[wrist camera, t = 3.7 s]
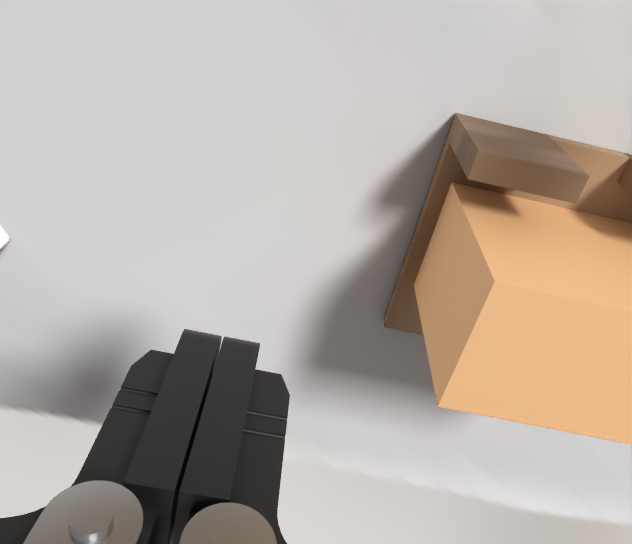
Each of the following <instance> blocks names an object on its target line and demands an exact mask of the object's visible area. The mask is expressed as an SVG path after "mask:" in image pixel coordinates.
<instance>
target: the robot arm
mask: <svg viewBox="0 0 632 544" xmlns="http://www.w3.org/2000/svg"><path fill="white" fill-rule="evenodd" d="M220 345H221V336H218V335H213V334H208V333H203V332H198V331H192V330H187V329H184V331H183V333H182V335H181V338H180V340H179V343H178V345H177V348H176V350H175V353H174V354H171V353H165V352H160V351H155V350H150V351H149V352H148V353H147V354H145V355H144V356H143V357H142V358H140V359H139V360H138V361H137V362H135V363H134V364H133V365H132V366H131V368H130V370H129V372H128V374H127V376H126V378H125V380H124V382H123V384H122V386H121V390H120V391H119V392H118V395H117V397H116V399H115V401H114V403H113V406H112V409H110V411H109V413H108V415H107V417H106V419H105V421H104V423H103V426H102V428H101V430H100V432H99V434H98V436H97V438H96V440H95V442H94V444H93V446H92V448H91V451H90V452H89V454H88V457H87V459H86V461H85V463H84V465H83V467H82V469H81V471H80V473H79V475H78V477H77V479H76V480H75V482H74V483H73V485H72V486H71V487H69V488H68V489H66V490H64V491H63V492H61V493H60V494H58V495H57V496H56V497H54V498H53V499H52V500H51V501H50V502H49V503H48V505H47V506H46V507H44V508H41V509H39V510H37V511H35V512H31V513H28V514H25V515H20V516H15V517H8V518H0V544H287V543H286V542H285V540H284V538H283V536H282V534H281V532H280V528H279V525H278V519H277V508H278V498H279V489H280V479H281V470H282V462H283V452H284V443H285V434H286V425H287V416H288V406H289V397H290V395H289V392H288V390H287V387H286V385H285V382H284V380H283V378H282V375H281V374H276V373H271V372H266V371H261V370H255V367H256V362H257V357H258V352H259V347H260V343H255V342H250V341H245V340H239V339H234V338H229V337H224V339H223V342H222V345H221V349H220ZM219 351H220V352H219Z"/></svg>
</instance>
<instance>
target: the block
mask: <svg viewBox="0 0 632 544" xmlns="http://www.w3.org/2000/svg"><path fill="white" fill-rule="evenodd" d="M414 289H415V294H416V299H417V304H418V309H419V314H420V320H421V325H422V330H423V335H424V340H425V345H426V350H427V355H428V360H429V365H430V370H431V375H432V380H433V386H434V391H435V396H436V401H437V406H438V407H442V408H447V409H452V410H457V411H462V412H467V413H472V414H477V415H482V416H487V417H492V418H498V419H503V420H508V421H513V422H518V423H523V424H528V425H533V426H538V427H543V428H548V429H553V430H559V431H564V432H569V433H574V434H579V435H584V436H589V437H594V438H599V439H604V440H609V441H614V442H619V443H625V444H630V445H632V223H629V222H624V221H620V220H615V219H611V218H607V217H602V216H598V215H593V214H589V213H585V212H580V211H576V210H572V209H567V208H563V207H558V206H554V205H550V204H545V203H541V202H536V201H532V200H528V199H523V198H519V197H514V196H510V195H506V194H501V193H497V192H492V191H488V190H484V189H479V188H475V187H470V186H466V185H462V184H457V183H453V182H452V183H451V186H450V188H449V191H448V194H447V197H446V199H445V202H444V205H443V207H442V210H441V213H440V216H439V218H438V221H437V224H436V226H435V229H434V232H433V235H432V237H431V240H430V243H429V245H428V248H427V251H426V254H425V256H424V259H423V262H422V264H421V267H420V270H419V273H418V275H417V278H416V281H415V283H414Z"/></svg>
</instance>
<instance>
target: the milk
mask: <svg viewBox="0 0 632 544" xmlns="http://www.w3.org/2000/svg"><path fill="white" fill-rule="evenodd" d="M9 240H10V238H9V236H8V234H7V233H6V232H5V230H4V229H3V228H2V226H1V225H0V249H1V248H2V247H3V246H4V245H5V244H6V243H7V242H8V241H9Z"/></svg>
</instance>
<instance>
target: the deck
mask: <svg viewBox="0 0 632 544" xmlns="http://www.w3.org/2000/svg"><path fill="white" fill-rule="evenodd" d="M452 182H453V183H457V184H462V185H466V186H470V187H475V188H479V189H484V190H488V191H492V192H497V193H501V194H506V195H510V196H514V197H519V198H523V199H528V200H532V201H536V202H541V203H545V204H550V205H554V206H558V207H563V208H567V209H572V210H576V211H580V212H585V213H589V214H593V215H598V216H602V217H607V218H611V219H615V220H620V221H624V222H629V223H632V155H630V154H626V153H622V152H617V151H613V150H609V149H605V148H601V147H596V146H592V145H588V144H584V143H579V142H575V141H571V140H567V139H563V138H558V137H554V136H550V135H546V134H541V133H537V132H533V131H529V130H525V129H520V128H516V127H512V126H508V125H503V124H499V123H495V122H491V121H487V120H482V119H478V118H474V117H470V116H465V115H461V114H457V113H455V116H454V119H453V122H452V125H451V127H450V130H449V133H448V136H447V139H446V142H445V145H444V148H443V150H442V153H441V156H440V159H439V162H438V165H437V168H436V170H435V173H434V176H433V179H432V182H431V185H430V188H429V191H428V193H427V196H426V199H425V202H424V205H423V208H422V211H421V214H420V216H419V219H418V222H417V225H416V228H415V231H414V234H413V237H412V239H411V242H410V245H409V248H408V251H407V254H406V257H405V259H404V262H403V265H402V268H401V271H400V274H399V277H398V280H397V282H396V285H395V288H394V291H393V294H392V297H391V300H390V303H389V305H388V308H387V311H386V314H385V317H384V326H385V327H388V328H393V329H398V330H403V331H408V332H413V333H418V334H422V335H423V330H422V325H421V320H420V314H419V309H418V304H417V299H416V294H415V289H414V283H415V281H416V278H417V275H418V273H419V270H420V267H421V264H422V262H423V259H424V256H425V254H426V251H427V248H428V245H429V243H430V240H431V237H432V235H433V232H434V229H435V226H436V224H437V221H438V218H439V216H440V213H441V210H442V207H443V205H444V202H445V199H446V197H447V194H448V191H449V188H450V186H451V183H452Z"/></svg>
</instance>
